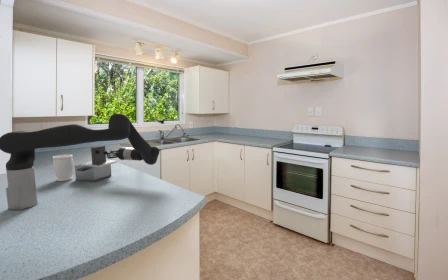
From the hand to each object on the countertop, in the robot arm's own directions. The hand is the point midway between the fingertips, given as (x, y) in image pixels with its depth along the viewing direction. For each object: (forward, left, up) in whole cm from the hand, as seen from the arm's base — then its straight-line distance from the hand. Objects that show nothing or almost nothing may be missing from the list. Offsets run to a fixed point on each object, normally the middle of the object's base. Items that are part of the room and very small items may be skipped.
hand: (104, 152), depth 146 cm
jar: (-4, +24, -17) cm, 30 cm away
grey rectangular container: (+1, +8, -17) cm, 19 cm away
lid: (0, +4, -7) cm, 8 cm away
